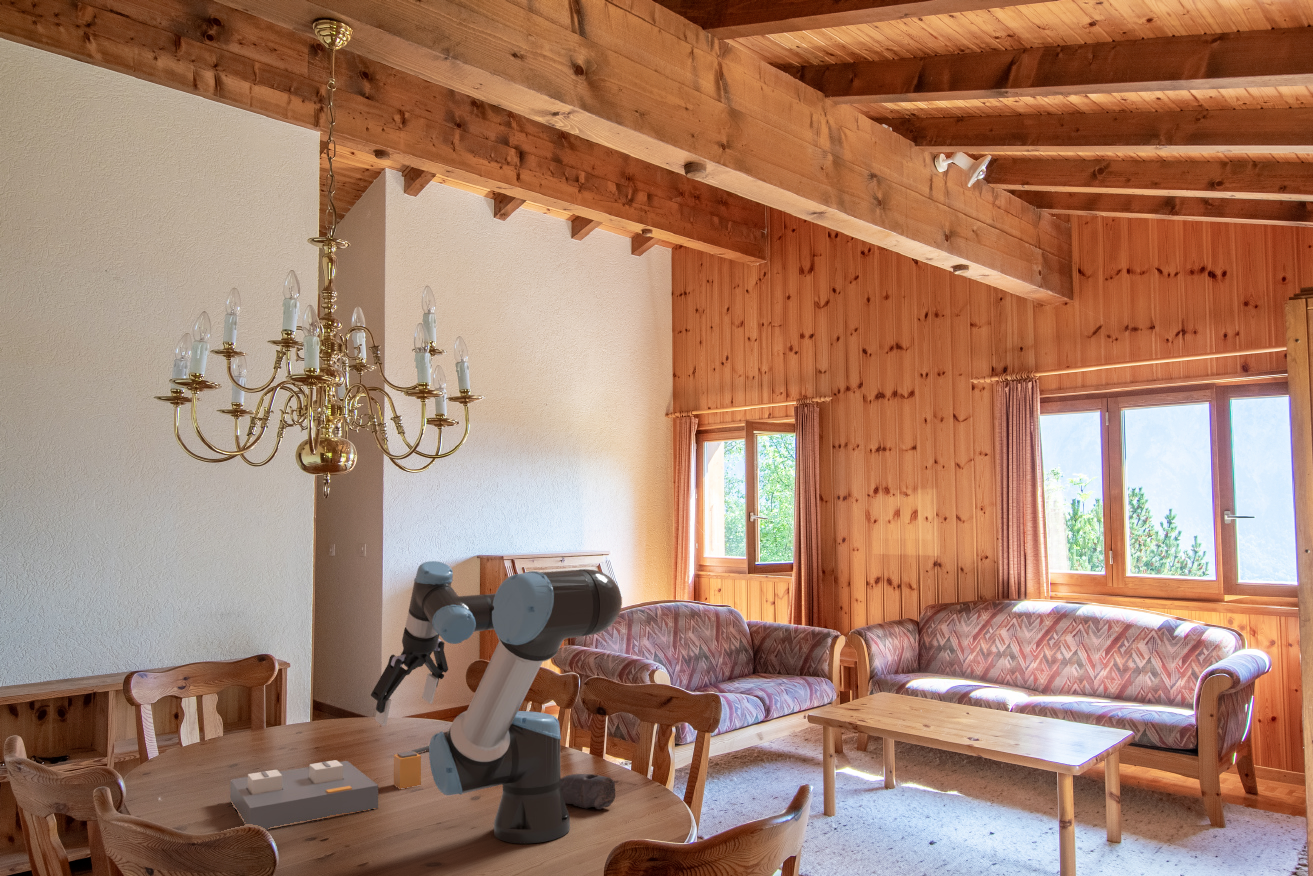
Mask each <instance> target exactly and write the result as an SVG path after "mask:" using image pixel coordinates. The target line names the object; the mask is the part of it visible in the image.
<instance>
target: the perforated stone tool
mask: <svg viewBox="0 0 1313 876" xmlns="http://www.w3.org/2000/svg"><path fill="white" fill-rule="evenodd" d="M561 792H562V795H563V798H564V801H565V804H567V805H573V806H574V807H577V806H578V807H579V808H581V809H582V808H583V809H589V808H595V809H596V810H602V809H604V808H608V807H610V806H611V805H612V804H613V803H614V802H615V799H616V782H615V780H613V778H611V777H610V776H603V775H600V774H599V775H598V774H593V773H576V774H575V773H574V774H573V773H572V774H568V775H565V776H563V777H561ZM578 807H577V808H578Z"/></svg>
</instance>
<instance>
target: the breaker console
mask: <svg viewBox="0 0 1313 876" xmlns="http://www.w3.org/2000/svg"><path fill="white" fill-rule="evenodd" d="M339 762H340V763H341V764H342V765H343V780H337V781H331V782H325V783H320V784H313V783H312V782H311V781H310V780H309V766H307V767H301V768H293V769H288V770H282V771H279V772H280V774H281V775H282V790H279V791H273V792H267V793H261V794H255V795H251V794H250V793H249V792H248V776H245V777H238V778H233V779H230V784H229V785H230V786H229V787H230V791H229V793H230V794H229V796H230V798H229V800H230V799H231V801H232V802H233V804H234V805H235V807H236V808H237V810H238V811H239V813H240V814H241V816H242V818H243V819H244V822H246V823H245V824H253V825H258V826H261V827H263V828H265V829H267V830H266V831H269V829H268V828H270V827H274V826H280V825H284V824H290V823H294V822H300V821H307V820H312V819H317V818H322V817H327V816H330V815H336V814H342V813H350V812H357V811H363V810H368V809H373V808H378V809H379V785H378V784H377V783H376V782H374V781H373V780H372V779H371V778H369V777H368V776H367V775H366V774H365V773H363V772H362V771H361V770H359V769H358V768H357V767H356V766H354V765H353V764H352V763H351V762H350V761H348V760H343V761H339Z"/></svg>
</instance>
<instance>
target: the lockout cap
mask: <svg viewBox="0 0 1313 876" xmlns="http://www.w3.org/2000/svg"><path fill="white" fill-rule="evenodd" d="M395 785H396V786H397V787H399V788H400V789H401V788H407V787H412V786H417V785H421V786H422V755H421V754H419V753H416V752H413V751H412V750H409V751H403V752H398V753H397V754H393V786H395ZM396 786H395V787H396ZM397 787H396V788H397ZM399 788H398V789H399ZM412 788H413V787H412ZM400 789H399V790H400ZM407 789H408V788H407ZM401 790H402V789H401Z"/></svg>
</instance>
